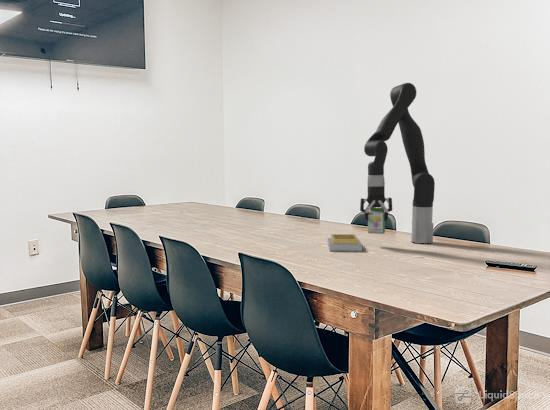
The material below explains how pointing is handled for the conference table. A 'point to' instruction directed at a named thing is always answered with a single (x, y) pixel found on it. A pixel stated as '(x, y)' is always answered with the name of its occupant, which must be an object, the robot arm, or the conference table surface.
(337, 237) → the white yellow box
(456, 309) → the conference table surface
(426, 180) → the robot arm
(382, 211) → the ink box
